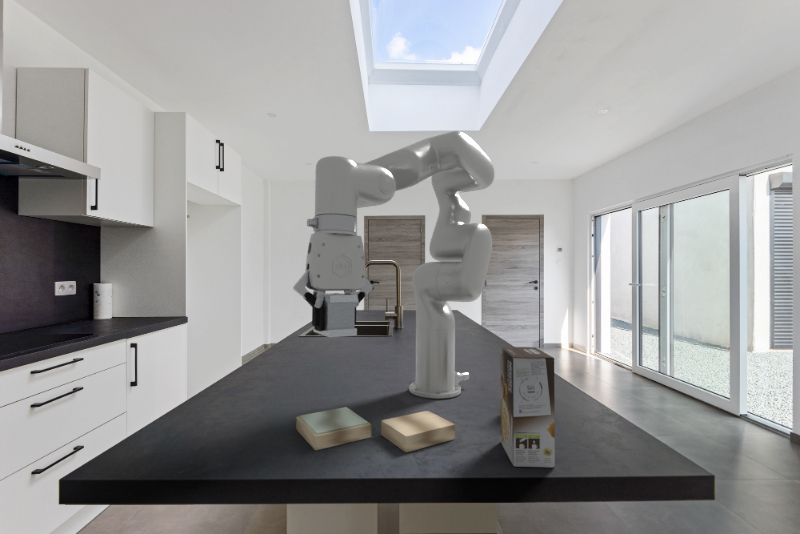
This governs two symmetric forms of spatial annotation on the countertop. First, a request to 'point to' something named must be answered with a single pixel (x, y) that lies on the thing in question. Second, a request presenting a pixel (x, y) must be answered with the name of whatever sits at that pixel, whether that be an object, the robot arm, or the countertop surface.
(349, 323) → the housing
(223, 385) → the countertop surface
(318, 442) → the stand
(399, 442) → the beige piece
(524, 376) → the coffee box
